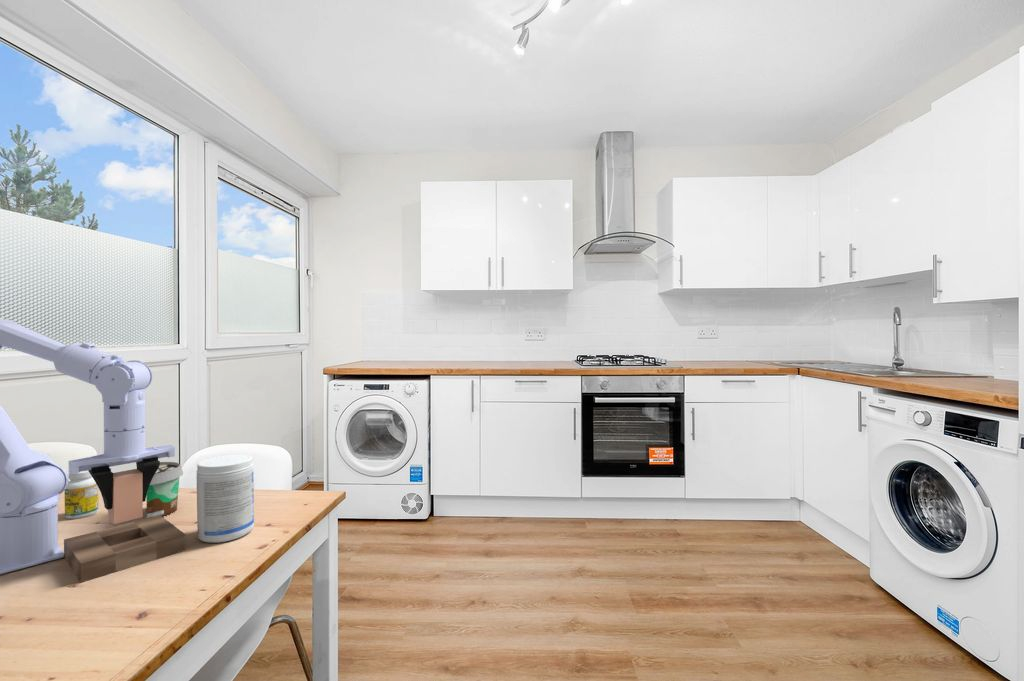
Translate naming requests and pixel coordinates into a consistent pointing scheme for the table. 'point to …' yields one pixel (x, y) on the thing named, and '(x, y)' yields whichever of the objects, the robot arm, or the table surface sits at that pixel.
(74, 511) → the supplement bottle
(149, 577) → the table surface
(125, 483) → the terracotta peg
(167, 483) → the food container
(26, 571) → the table surface
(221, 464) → the supplement tub
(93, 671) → the table surface
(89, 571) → the walnut stand board
